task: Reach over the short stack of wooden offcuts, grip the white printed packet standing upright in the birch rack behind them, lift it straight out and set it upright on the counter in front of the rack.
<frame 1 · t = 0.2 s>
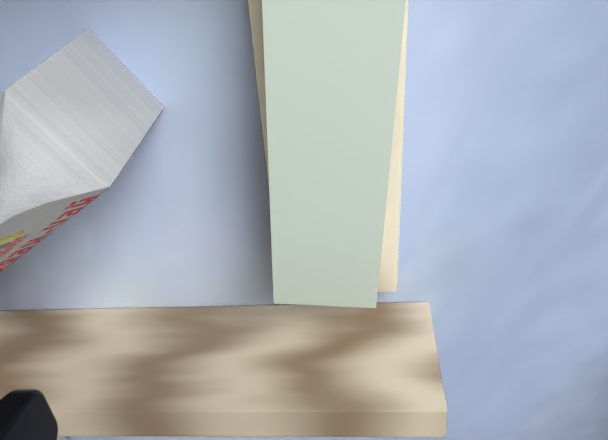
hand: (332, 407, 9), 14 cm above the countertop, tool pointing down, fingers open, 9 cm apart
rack: (69, 120, 22), on the countertop
white printed packet: (72, 117, 22), resting in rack
offcut low: (332, 97, 22), on the countertop, touching offcut top
offcut top: (331, 117, 20), point 1 cm above the countertop, touching offcut low
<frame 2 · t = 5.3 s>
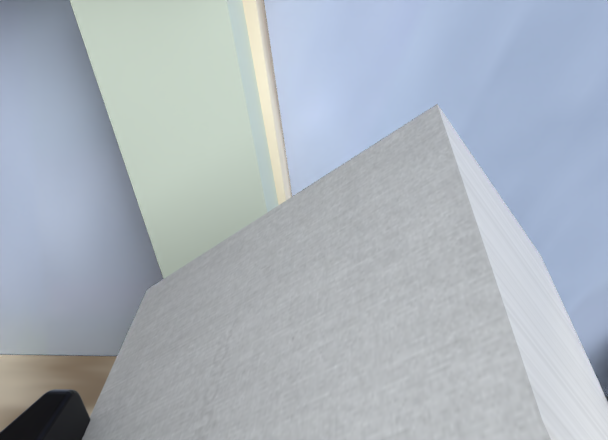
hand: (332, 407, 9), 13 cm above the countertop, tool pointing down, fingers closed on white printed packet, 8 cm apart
white printed packet: (334, 267, 11), point 9 cm above the countertop, touching gripper
offcut low: (223, 163, 21), on the countertop, touching offcut top
offcut top: (218, 190, 20), point 1 cm above the countertop, touching offcut low
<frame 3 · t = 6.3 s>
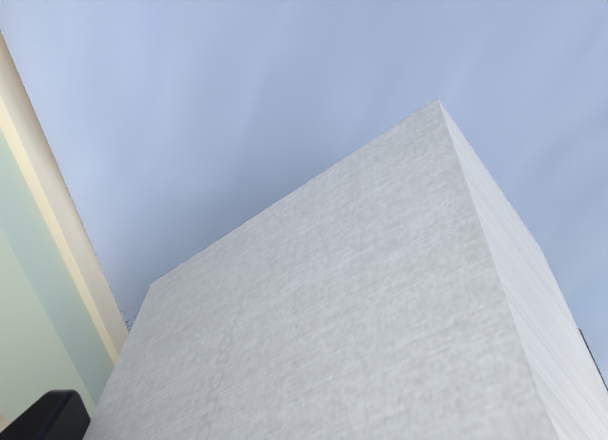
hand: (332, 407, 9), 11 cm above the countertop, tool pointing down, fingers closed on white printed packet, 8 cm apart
white printed packet: (336, 260, 11), point 8 cm above the countertop, touching gripper
offcut low: (25, 211, 22), on the countertop, touching offcut top
offcut top: (1, 244, 20), point 1 cm above the countertop, touching offcut low
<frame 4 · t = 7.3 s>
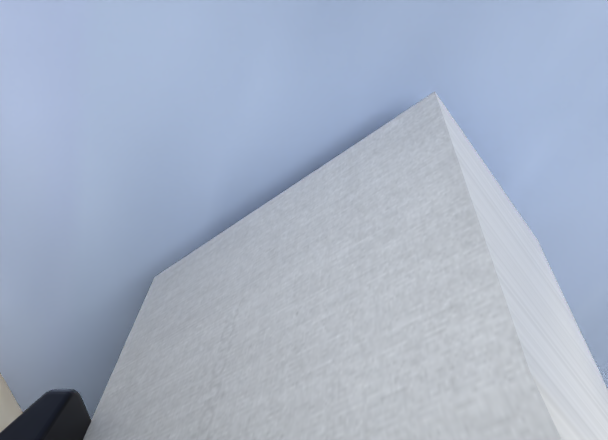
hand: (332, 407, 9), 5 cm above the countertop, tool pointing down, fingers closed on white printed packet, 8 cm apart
white printed packet: (336, 253, 12), point 1 cm above the countertop, touching gripper
when the fingers open (4 cm above the countertop, at t = 8.5 s): white printed packet stays where it is, on the countertop.
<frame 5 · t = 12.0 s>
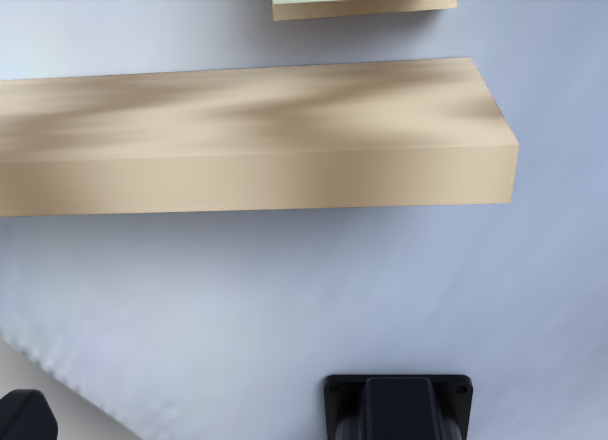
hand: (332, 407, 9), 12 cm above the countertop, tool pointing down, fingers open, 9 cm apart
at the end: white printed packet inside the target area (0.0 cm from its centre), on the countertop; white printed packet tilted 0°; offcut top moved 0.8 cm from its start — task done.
